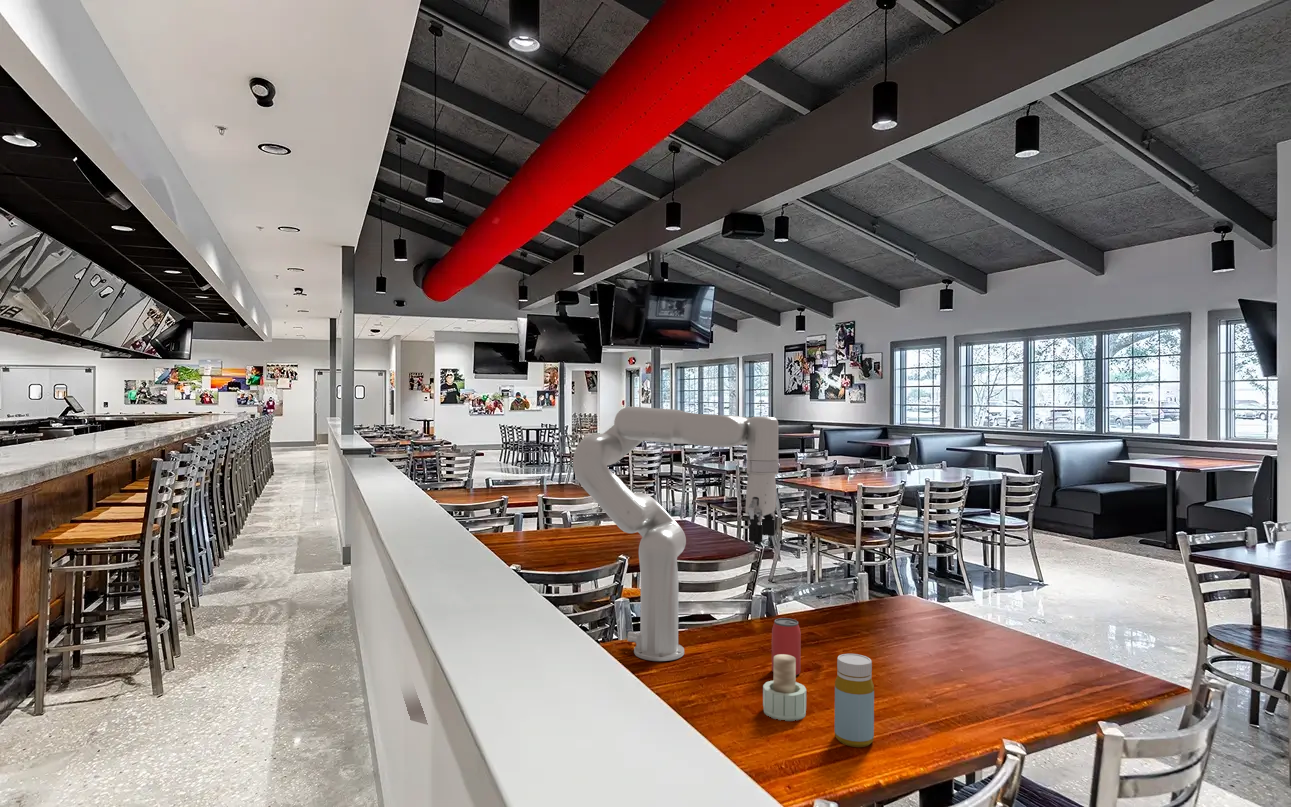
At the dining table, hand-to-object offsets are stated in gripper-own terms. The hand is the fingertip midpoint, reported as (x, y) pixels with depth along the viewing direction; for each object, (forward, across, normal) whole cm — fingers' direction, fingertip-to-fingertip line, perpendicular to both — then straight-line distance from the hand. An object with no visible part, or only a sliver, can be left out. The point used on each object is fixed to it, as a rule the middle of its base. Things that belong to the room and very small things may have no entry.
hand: (762, 538), depth 176 cm
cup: (+30, +25, +13) cm, 41 cm away
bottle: (+31, +31, +28) cm, 52 cm away
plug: (+29, +25, +13) cm, 41 cm away
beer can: (+31, +3, +7) cm, 31 cm away
